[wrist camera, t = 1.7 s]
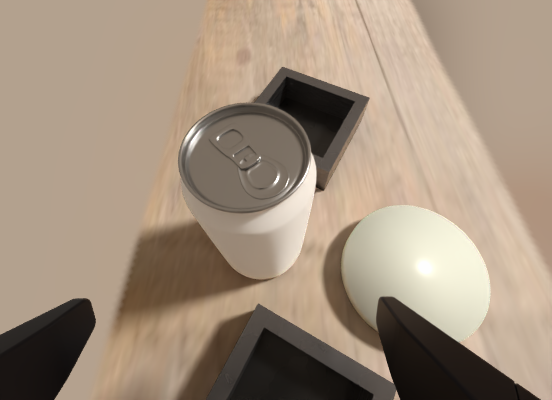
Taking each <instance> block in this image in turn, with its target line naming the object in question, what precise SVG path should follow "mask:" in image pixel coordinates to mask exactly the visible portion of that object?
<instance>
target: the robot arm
mask: <svg viewBox="0 0 552 400" xmlns="http://www.w3.org/2000/svg"><path fill="white" fill-rule="evenodd" d="M95 323H96V319H95V315H94V312H93V308H92V305H91V302H90V300H88V299H86V298H83V299H79V298H78V299H72V300H70V301H68V302H66V303H64V304H62V305H60V306H58V307H56V308H54V309H52V310H50V311H48V312H46V313H44V314H42V315H40V316H38V317H35V318H33V319H32V320H29V321H27V322H25V323H23V324H21V325H19V326H17V327H16V328H13V329H11V330H9V331H7V332H5V333H3V334H1V335H0V400H54V399H55V398H56V396H57V395H58V393H59V391H60V390H61V388H62V387H63V385H64V383H65V382H66V380H67V378H68V377H69V375H70V373H71V371H72V369H73V367H74V366H75V364H76V362H77V360H78V358H79V356H80V354H81V352H82V350H83V348H84V347H85V345H86V343H87V341H88V339H89V337H90V335H91V333H92V331H93V329H94V327H95ZM376 325H377V329H378V332H379V336H380V339H381V343H382V346H383V350H384V353H385V357H386V360H387V364H388V367H389V370H390V374H391V377H392V379H393V382H394V385H395V387H396V390H397V392H398V395H399V397H400V400H541V399H539V398H538V397H536V396H535V395H533V394H532V393H530V392H529V391H528V390H526V389H525V388H523V387H522V386H520V385H519V384H517V383H516V384H515V383H514V381H513V380H512V379H510V378H509V377H507V376H506V375H505V374H503V373H502V372H500V371H499V370H497V369H496V368H495V367H493V366H492V365H490V364H489V363H487V362H486V361H485V360H483V359H482V358H480V357H479V356H477V355H476V354H475V353H473V352H472V351H470V350H469V349H467V348H466V347H465V346H463V345H462V344H460V343H459V342H458V341H456V340H455V339H453V338H452V337H450V336H449V335H448V334H446V333H445V332H443V331H442V330H440V329H439V328H438V327H436V326H435V325H433V324H432V323H430V322H429V321H428V320H426V319H425V318H423V317H422V316H420V315H419V314H418V313H416V312H415V311H413V310H412V309H410V308H409V307H408V306H406V305H405V304H403V303H402V302H400V301H399V300H398V299H396V298H395V297H392V296H381V297H380V298H379V300H378V306H377V314H376Z"/></svg>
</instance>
